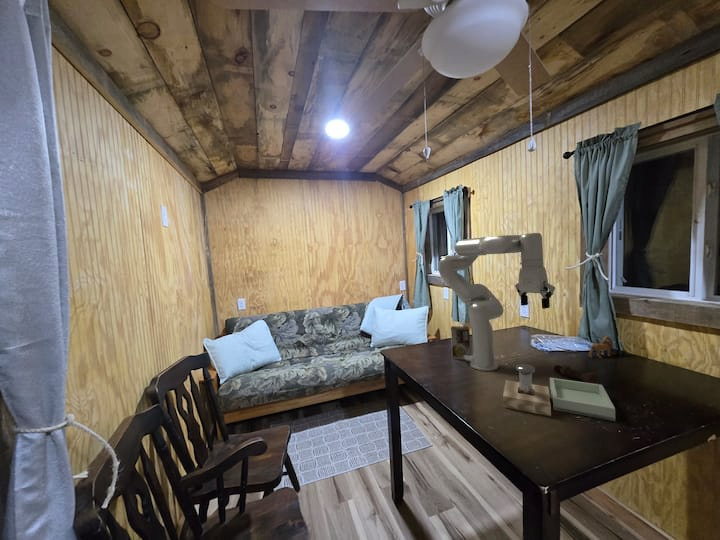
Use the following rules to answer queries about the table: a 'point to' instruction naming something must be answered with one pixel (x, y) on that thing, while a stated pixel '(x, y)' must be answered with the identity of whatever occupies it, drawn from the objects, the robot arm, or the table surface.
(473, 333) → the robot arm
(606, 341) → the lion figurine
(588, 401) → the tray
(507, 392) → the socket block
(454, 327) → the coffee box
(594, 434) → the table surface
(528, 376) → the pin
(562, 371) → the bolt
